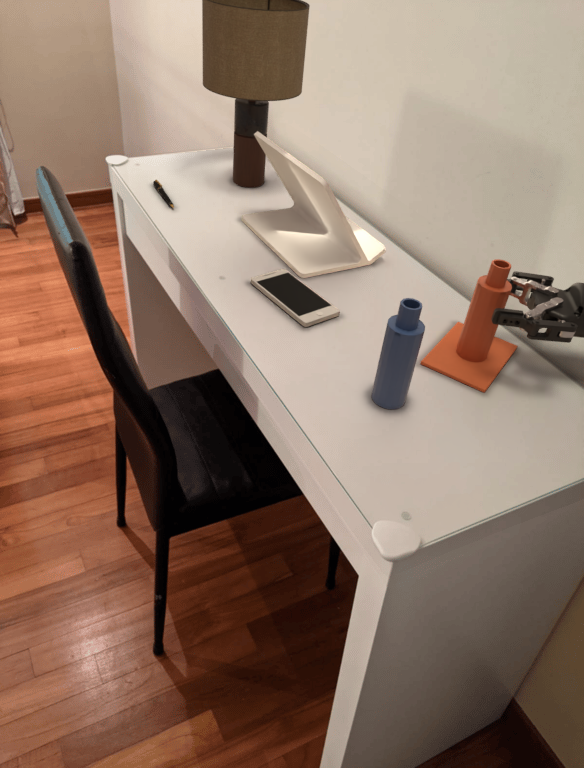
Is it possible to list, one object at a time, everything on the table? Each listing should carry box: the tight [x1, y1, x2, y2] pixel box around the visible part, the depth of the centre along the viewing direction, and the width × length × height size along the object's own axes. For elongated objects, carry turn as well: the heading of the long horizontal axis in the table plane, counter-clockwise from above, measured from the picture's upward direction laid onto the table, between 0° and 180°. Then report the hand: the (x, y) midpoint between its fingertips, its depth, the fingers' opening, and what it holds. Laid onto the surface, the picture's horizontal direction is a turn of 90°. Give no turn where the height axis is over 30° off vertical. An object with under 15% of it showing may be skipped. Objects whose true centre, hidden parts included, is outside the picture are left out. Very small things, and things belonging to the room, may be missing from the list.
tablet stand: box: [240, 131, 387, 279], centre depth 112 cm, size 18×25×17 cm
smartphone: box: [250, 268, 341, 328], centre depth 100 cm, size 7×16×1 cm, turn 37°
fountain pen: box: [152, 179, 175, 209], centre depth 126 cm, size 14×1×2 cm, turn 26°
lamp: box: [201, 0, 311, 189], centre depth 126 cm, size 20×20×35 cm
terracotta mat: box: [420, 321, 519, 393], centre depth 92 cm, size 10×14×1 cm
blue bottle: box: [371, 297, 426, 410], centre depth 78 cm, size 5×5×15 cm
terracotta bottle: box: [456, 258, 512, 362], centre depth 87 cm, size 5×5×15 cm
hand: (488, 299), depth 86 cm, fingers open, 8 cm apart
